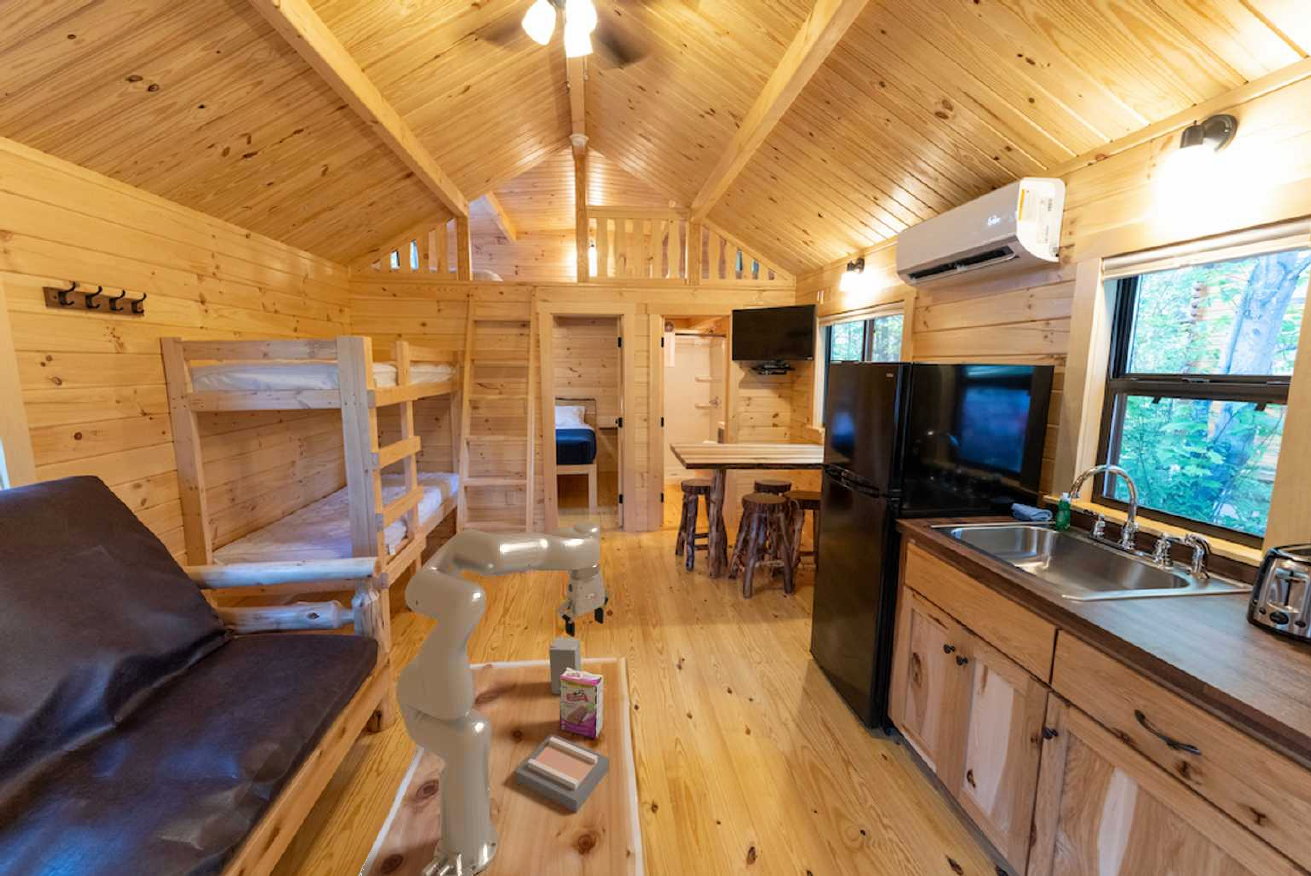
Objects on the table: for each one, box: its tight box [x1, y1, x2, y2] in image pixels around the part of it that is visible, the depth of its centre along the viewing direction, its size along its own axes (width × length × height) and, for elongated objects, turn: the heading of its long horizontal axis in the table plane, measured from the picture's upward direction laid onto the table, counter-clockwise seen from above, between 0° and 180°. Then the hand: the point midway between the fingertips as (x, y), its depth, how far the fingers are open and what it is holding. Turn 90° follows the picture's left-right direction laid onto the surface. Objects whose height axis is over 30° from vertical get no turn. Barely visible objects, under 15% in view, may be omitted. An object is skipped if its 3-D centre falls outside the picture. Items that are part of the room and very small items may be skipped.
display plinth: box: [514, 732, 610, 813], centre depth 124 cm, size 14×18×4 cm
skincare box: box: [548, 636, 582, 695], centre depth 156 cm, size 8×7×16 cm
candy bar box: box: [559, 668, 604, 740], centre depth 139 cm, size 11×5×16 cm, turn 74°
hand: (584, 628), depth 138 cm, fingers open, 9 cm apart
